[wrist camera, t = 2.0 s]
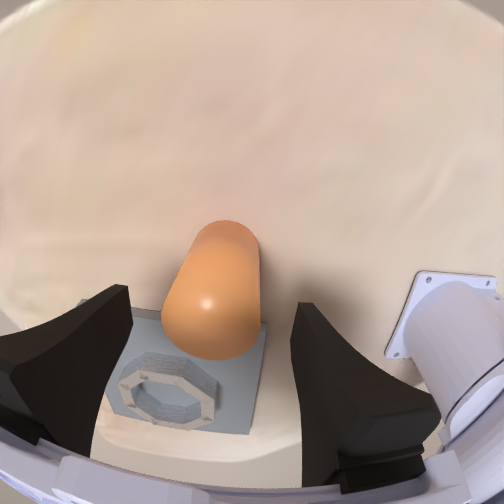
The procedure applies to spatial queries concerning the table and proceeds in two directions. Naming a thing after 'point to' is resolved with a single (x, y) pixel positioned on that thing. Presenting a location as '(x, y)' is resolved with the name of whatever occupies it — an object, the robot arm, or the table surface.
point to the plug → (216, 294)
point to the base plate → (224, 371)
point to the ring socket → (171, 373)
